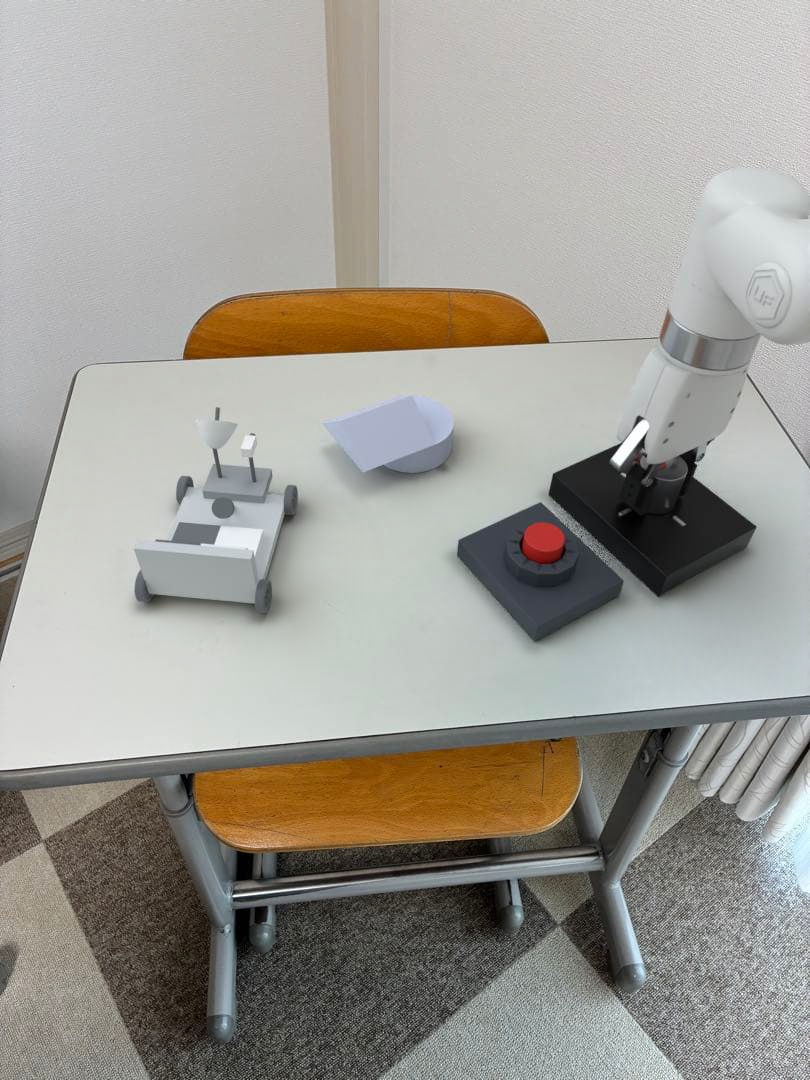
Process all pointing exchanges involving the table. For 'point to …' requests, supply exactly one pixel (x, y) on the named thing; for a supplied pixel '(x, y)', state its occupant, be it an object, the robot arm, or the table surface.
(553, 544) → the button
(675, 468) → the burner knob
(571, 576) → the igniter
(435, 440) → the wedge on round base
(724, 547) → the stove panel
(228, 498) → the toy car
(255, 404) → the table surface
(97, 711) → the table surface
